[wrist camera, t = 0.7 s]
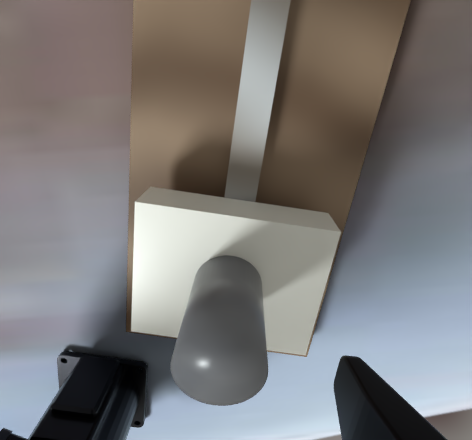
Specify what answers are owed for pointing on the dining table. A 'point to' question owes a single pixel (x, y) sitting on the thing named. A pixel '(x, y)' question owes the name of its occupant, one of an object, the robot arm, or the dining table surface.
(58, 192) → the dining table surface
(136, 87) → the rail board
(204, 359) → the carriage
